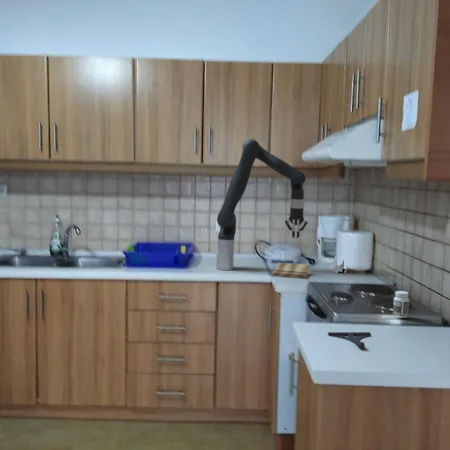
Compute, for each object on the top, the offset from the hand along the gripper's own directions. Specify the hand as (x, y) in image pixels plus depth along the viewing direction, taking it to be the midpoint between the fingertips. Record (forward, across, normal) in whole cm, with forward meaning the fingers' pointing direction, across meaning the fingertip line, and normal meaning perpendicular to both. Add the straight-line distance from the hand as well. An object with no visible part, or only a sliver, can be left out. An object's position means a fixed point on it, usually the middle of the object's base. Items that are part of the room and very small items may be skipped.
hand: (295, 237), depth 275 cm
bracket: (+20, +37, -112) cm, 120 cm away
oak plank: (+17, 0, -8) cm, 19 cm away
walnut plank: (+19, 0, -16) cm, 25 cm away
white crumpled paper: (+19, +24, +12) cm, 33 cm away
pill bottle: (+19, +53, -76) cm, 95 cm away
